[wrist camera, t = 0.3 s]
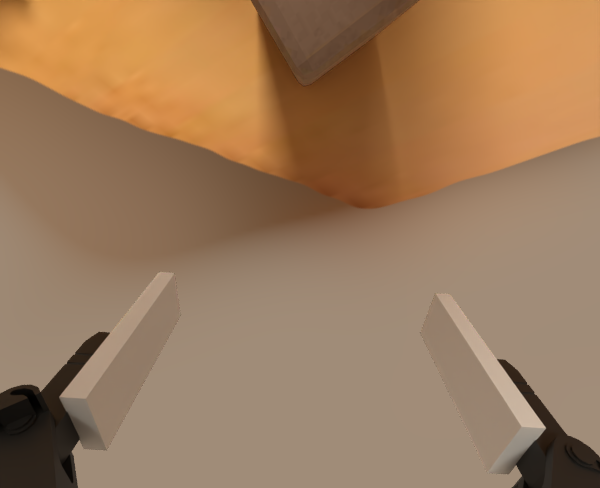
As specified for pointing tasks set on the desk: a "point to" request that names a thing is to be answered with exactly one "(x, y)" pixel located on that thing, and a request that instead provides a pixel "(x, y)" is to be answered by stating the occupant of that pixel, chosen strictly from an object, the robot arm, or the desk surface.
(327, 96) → the desk surface
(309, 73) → the wooden block
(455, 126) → the desk surface
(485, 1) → the desk surface
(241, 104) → the desk surface
